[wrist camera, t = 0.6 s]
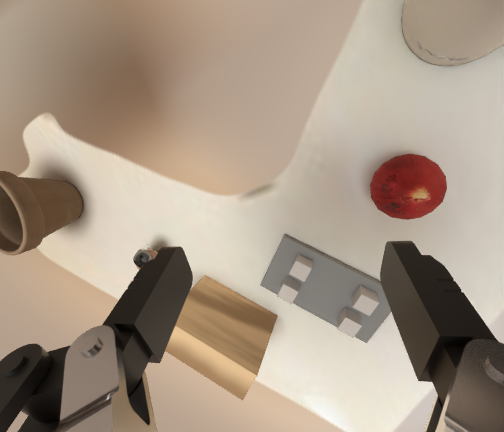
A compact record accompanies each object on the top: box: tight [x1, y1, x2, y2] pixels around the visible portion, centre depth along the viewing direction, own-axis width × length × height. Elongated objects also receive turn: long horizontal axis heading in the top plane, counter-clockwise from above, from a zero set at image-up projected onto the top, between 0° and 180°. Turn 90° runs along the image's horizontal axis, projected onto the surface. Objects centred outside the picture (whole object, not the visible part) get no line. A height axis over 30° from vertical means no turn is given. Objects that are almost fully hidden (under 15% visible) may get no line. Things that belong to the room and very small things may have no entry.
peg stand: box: [261, 235, 391, 343], centre depth 30 cm, size 8×15×3 cm, turn 68°
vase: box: [133, 244, 158, 270], centre depth 36 cm, size 5×5×6 cm
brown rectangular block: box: [165, 275, 277, 400], centre depth 33 cm, size 4×12×10 cm, turn 68°
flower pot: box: [0, 171, 83, 255], centre depth 37 cm, size 12×11×10 cm
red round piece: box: [370, 154, 447, 219], centre depth 22 cm, size 6×6×8 cm
